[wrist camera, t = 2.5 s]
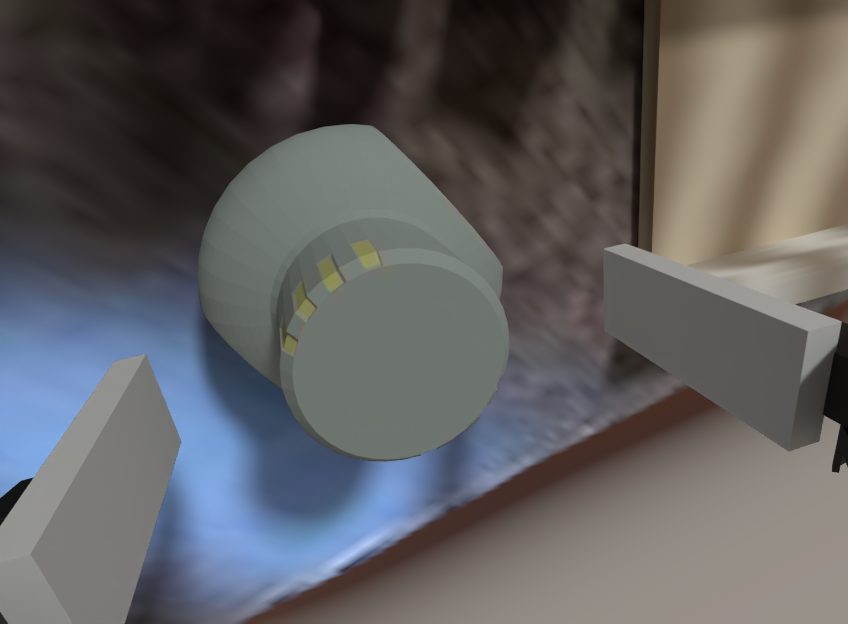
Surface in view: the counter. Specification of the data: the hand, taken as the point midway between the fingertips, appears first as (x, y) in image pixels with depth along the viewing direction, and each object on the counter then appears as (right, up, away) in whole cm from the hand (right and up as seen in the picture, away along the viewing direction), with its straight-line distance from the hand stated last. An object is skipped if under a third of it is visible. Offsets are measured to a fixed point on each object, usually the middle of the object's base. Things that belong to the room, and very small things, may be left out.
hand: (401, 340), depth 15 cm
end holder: (+16, +11, +9) cm, 21 cm away
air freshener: (-3, +3, +7) cm, 8 cm away
